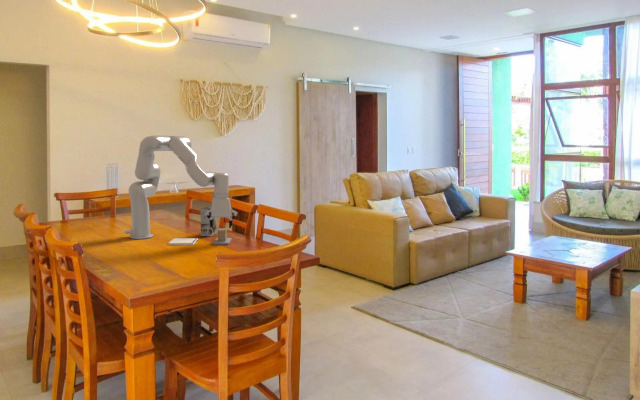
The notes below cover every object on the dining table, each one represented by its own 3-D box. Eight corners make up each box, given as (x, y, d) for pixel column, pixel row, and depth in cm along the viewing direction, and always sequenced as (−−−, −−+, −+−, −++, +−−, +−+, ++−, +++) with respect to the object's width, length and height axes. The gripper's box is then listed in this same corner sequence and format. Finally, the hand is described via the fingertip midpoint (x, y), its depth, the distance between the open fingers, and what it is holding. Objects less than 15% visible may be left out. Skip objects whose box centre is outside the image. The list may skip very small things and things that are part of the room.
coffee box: (211, 236, 281) (210, 208, 279) (200, 236, 282) (199, 208, 280) (217, 233, 290) (216, 206, 288) (207, 233, 291) (206, 206, 289)
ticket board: (168, 244, 260) (168, 242, 259) (174, 239, 271) (174, 237, 271) (193, 244, 260) (193, 242, 260) (198, 239, 272) (198, 237, 272)
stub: (213, 244, 260) (212, 231, 259) (217, 239, 272) (216, 227, 271) (228, 244, 261) (228, 231, 260) (231, 239, 273) (231, 227, 272)
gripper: (203, 196, 259) (203, 228, 262) (236, 197, 260) (236, 229, 262) (206, 194, 267) (206, 225, 269) (238, 195, 267) (238, 226, 270)
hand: (221, 227), depth 266 cm, fingers open, 9 cm apart
